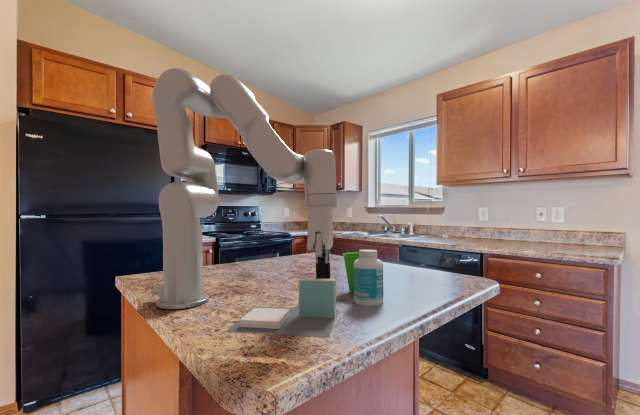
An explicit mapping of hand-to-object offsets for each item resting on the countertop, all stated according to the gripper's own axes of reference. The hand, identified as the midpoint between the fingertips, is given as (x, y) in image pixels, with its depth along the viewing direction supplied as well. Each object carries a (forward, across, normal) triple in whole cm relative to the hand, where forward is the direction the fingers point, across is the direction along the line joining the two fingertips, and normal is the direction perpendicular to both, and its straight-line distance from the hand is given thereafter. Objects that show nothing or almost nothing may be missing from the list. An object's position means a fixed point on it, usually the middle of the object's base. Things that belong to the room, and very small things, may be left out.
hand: (323, 279), depth 74 cm
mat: (+7, +9, -7) cm, 13 cm away
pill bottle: (+8, -7, +10) cm, 15 cm away
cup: (+8, -18, +7) cm, 21 cm away
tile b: (+7, +6, -1) cm, 9 cm away
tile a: (+6, +7, -11) cm, 14 cm away
